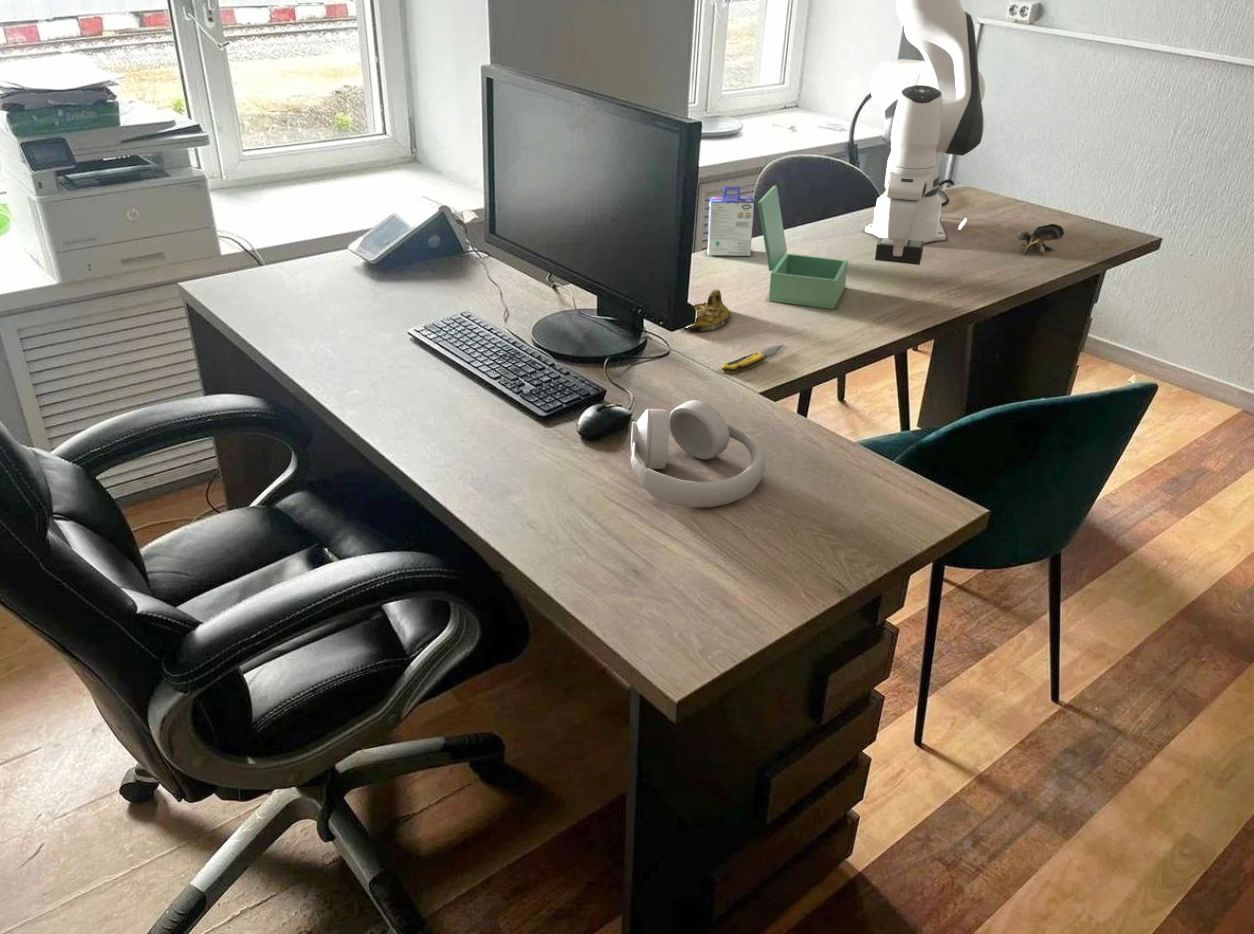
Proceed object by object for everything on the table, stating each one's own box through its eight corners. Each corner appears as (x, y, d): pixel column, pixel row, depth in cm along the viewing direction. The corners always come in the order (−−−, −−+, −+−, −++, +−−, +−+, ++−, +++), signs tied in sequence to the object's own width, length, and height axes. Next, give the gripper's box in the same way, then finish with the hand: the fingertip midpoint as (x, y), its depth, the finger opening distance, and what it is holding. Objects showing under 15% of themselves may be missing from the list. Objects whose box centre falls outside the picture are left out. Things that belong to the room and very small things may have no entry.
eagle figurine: (1046, 256, 223) (1070, 241, 227) (1033, 226, 222) (1058, 212, 226) (1020, 265, 230) (1043, 251, 234) (1007, 237, 229) (1031, 223, 233)
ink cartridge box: (749, 249, 230) (753, 185, 222) (751, 256, 225) (756, 192, 218) (706, 248, 230) (709, 185, 222) (707, 256, 225) (710, 191, 218)
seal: (709, 342, 184) (738, 315, 196) (712, 319, 182) (742, 293, 193) (663, 328, 187) (695, 302, 199) (666, 305, 185) (699, 280, 196)
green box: (845, 287, 208) (848, 260, 205) (833, 309, 197) (837, 281, 194) (782, 279, 211) (785, 253, 209) (768, 300, 200) (770, 273, 197)
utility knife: (775, 338, 180) (789, 342, 179) (774, 344, 181) (788, 349, 179) (720, 365, 170) (734, 370, 168) (720, 371, 170) (734, 376, 169)
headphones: (603, 448, 145) (661, 534, 131) (606, 404, 140) (666, 488, 126) (715, 426, 151) (782, 505, 137) (721, 382, 147) (791, 460, 132)
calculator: (874, 260, 196) (876, 243, 194) (878, 252, 200) (880, 236, 198) (919, 265, 193) (921, 248, 191) (921, 257, 197) (924, 240, 195)
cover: (776, 185, 203) (773, 185, 203) (761, 202, 192) (757, 202, 192) (787, 251, 208) (783, 251, 209) (772, 270, 197) (769, 271, 197)
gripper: (898, 164, 198) (889, 232, 205) (885, 191, 181) (876, 264, 188) (931, 167, 196) (921, 236, 203) (921, 194, 179) (910, 268, 186)
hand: (899, 250), depth 195 cm, fingers closed on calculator, 5 cm apart
